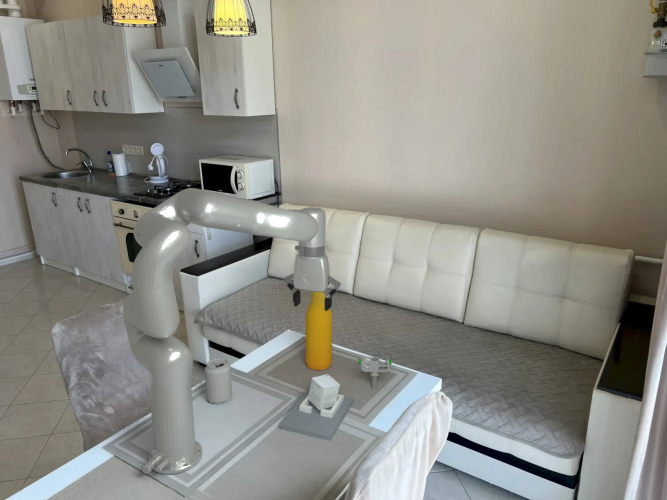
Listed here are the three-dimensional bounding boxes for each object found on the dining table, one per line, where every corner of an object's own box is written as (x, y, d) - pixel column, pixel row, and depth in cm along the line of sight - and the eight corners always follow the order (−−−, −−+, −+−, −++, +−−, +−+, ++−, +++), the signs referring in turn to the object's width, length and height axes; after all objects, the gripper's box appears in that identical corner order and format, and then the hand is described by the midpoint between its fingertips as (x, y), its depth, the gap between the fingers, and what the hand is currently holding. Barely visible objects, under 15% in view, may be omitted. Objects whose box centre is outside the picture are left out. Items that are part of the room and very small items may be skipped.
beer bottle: (303, 359, 173) (303, 281, 165) (329, 357, 174) (330, 280, 167) (307, 372, 164) (307, 290, 157) (334, 369, 165) (335, 288, 158)
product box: (307, 399, 142) (311, 377, 141) (323, 394, 146) (327, 373, 144) (319, 411, 138) (323, 388, 136) (335, 406, 142) (340, 384, 140)
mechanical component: (390, 390, 153) (391, 361, 150) (357, 389, 153) (358, 360, 151) (389, 385, 156) (391, 356, 153) (357, 384, 156) (358, 356, 154)
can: (217, 408, 142) (215, 371, 139) (201, 399, 147) (199, 363, 144) (237, 397, 148) (235, 361, 145) (220, 389, 152) (219, 354, 149)
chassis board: (330, 440, 128) (330, 431, 128) (279, 428, 133) (279, 419, 133) (353, 401, 147) (354, 393, 146) (307, 392, 151) (307, 384, 151)
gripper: (279, 251, 139) (280, 307, 143) (336, 257, 133) (335, 315, 138) (290, 245, 146) (290, 299, 150) (345, 250, 140) (344, 306, 145)
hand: (312, 307), depth 144 cm, fingers open, 9 cm apart
